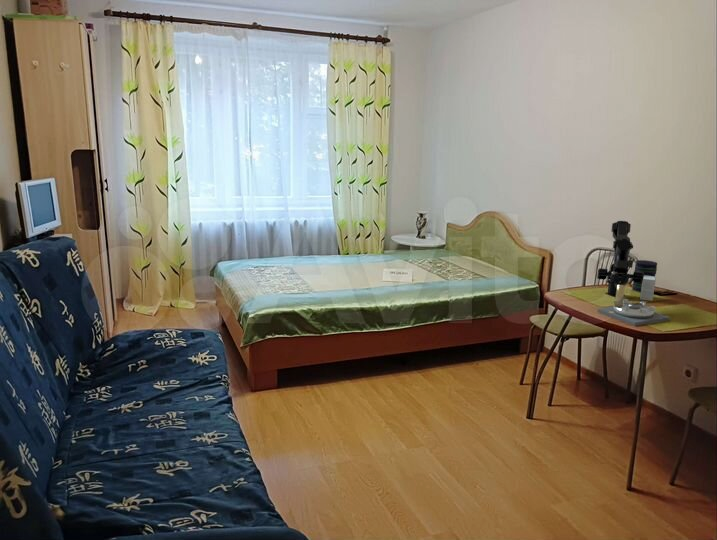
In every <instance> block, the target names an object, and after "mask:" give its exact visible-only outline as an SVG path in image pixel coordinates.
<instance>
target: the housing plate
mask: <svg viewBox="0 0 717 540" xmlns="http://www.w3.org/2000/svg"><path fill="white" fill-rule="evenodd" d="M599 312H600V314H601V313H602V314H601V315H604V314H605V315H604V316H606V317H610V318H611V319H615V320H617V321H620V322H622V323H625V324H627V325H631V326H634V327H637V326H643V325H648V324H649V325H650V324H656V323H663V322H667V321H670V319H671V317H670V316H668V315H666V314H662V313H658V312H656V311H654V316H653V317H651V318H632V317H626V316H622V315H619V314H617V313H615V312H614V311H613V306H609V307H608V306H607V307H602V308H601V307H600V308H597V313H599ZM662 321H663V322H662Z"/></svg>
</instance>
